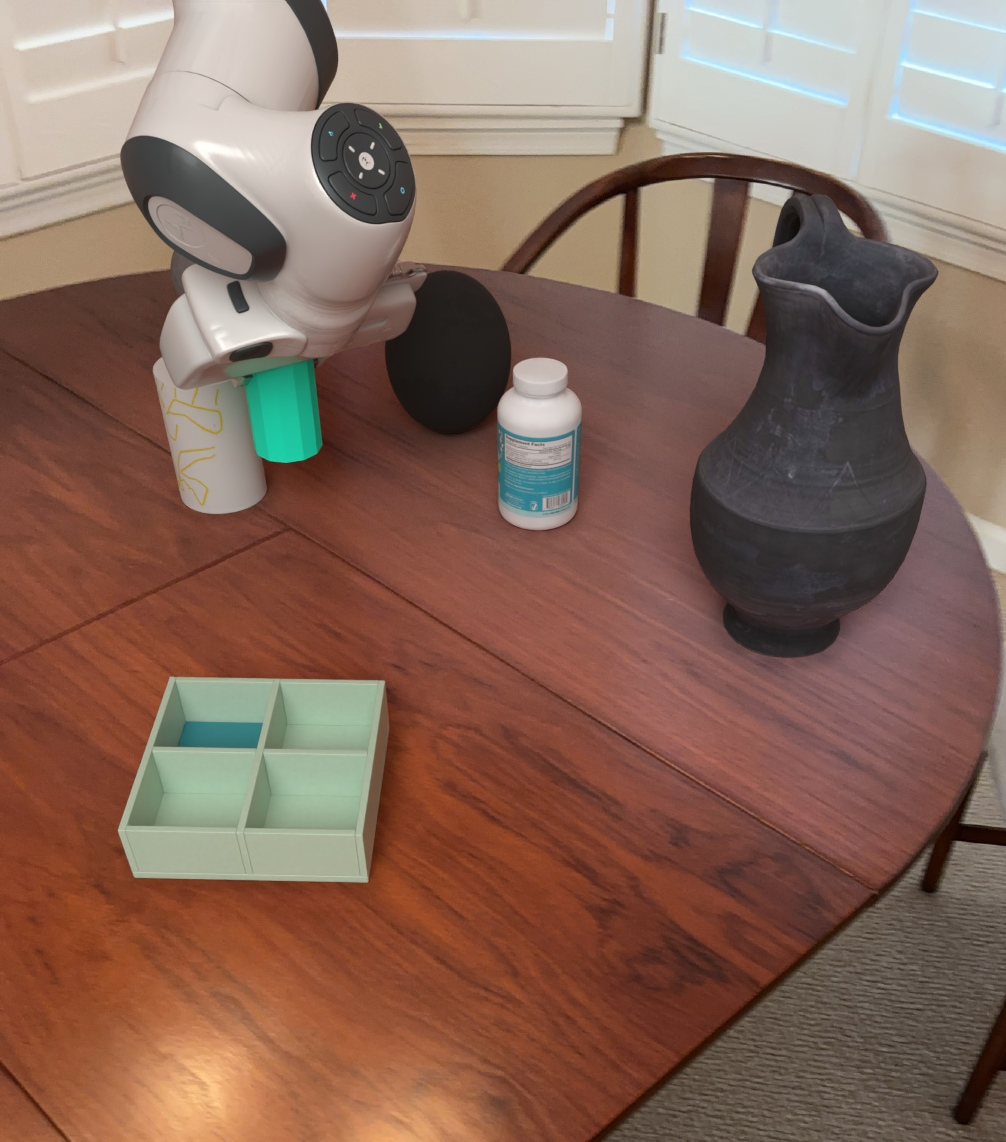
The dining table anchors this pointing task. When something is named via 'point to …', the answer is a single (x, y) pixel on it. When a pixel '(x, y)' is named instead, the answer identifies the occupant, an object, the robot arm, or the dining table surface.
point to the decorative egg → (451, 354)
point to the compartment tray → (259, 781)
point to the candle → (285, 412)
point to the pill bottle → (539, 446)
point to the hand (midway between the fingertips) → (273, 368)
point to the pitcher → (815, 440)
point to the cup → (211, 444)
